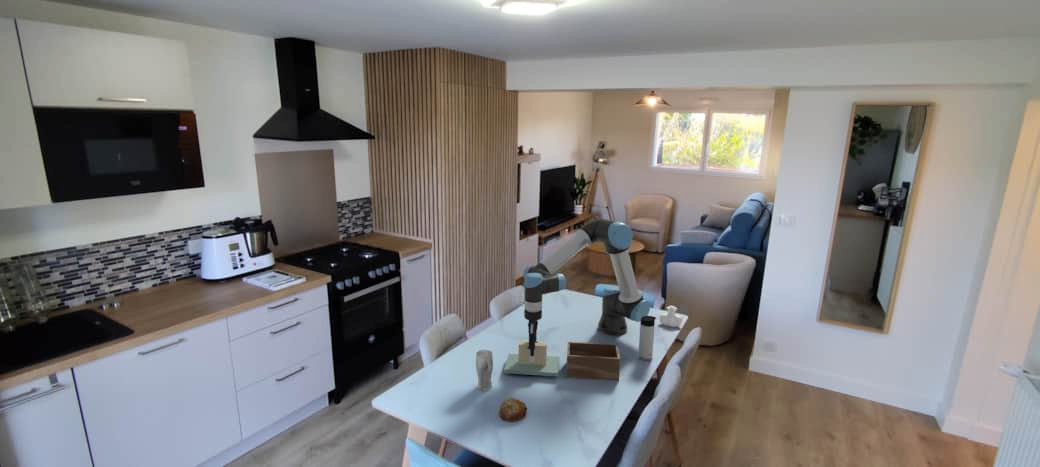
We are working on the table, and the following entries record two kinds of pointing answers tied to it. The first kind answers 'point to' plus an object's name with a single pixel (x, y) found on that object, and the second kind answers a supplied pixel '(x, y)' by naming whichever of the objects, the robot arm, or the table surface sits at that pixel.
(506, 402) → the bread roll
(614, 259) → the robot arm
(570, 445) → the table surface
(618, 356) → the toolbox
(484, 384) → the beer glass
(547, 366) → the lid
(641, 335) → the travel mug
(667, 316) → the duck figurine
